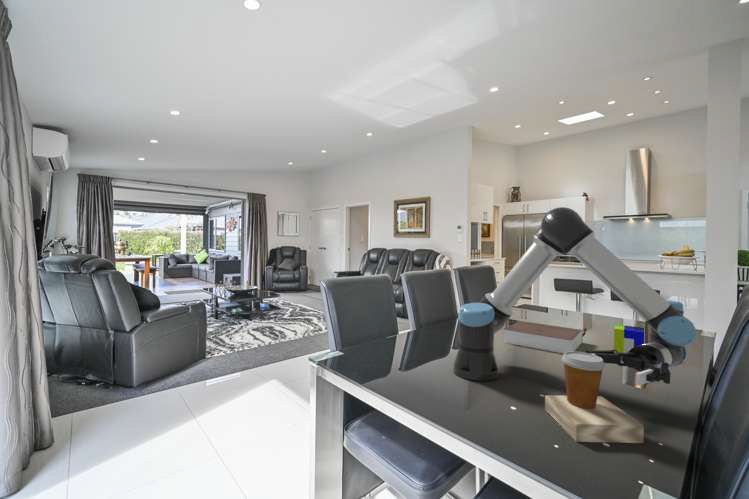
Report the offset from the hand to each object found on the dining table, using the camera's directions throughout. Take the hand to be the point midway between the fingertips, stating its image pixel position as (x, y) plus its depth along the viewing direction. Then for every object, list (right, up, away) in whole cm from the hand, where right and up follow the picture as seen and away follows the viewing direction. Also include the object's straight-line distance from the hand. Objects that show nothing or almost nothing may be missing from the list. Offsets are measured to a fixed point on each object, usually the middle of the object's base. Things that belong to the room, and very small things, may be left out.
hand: (606, 370), depth 88 cm
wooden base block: (-6, -13, -3) cm, 14 cm away
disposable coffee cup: (-6, -9, 0) cm, 11 cm away
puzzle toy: (+48, -13, +58) cm, 77 cm away
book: (+18, -13, +70) cm, 74 cm away
